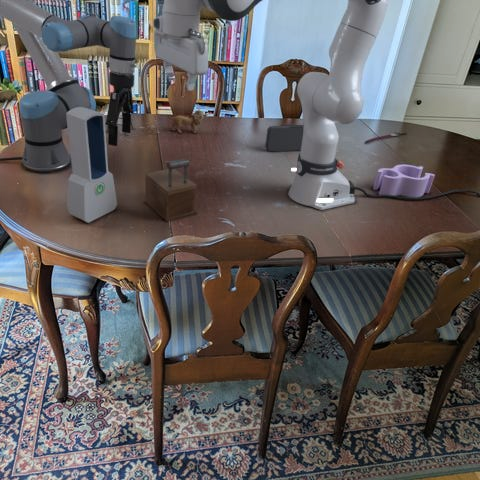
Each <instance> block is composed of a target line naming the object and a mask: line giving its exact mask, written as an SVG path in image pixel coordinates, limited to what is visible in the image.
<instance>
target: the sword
mask: <svg viewBox="0 0 480 480" xmlns="http://www.w3.org/2000/svg"><path fill="white" fill-rule="evenodd" d="M404 134H406V133H402V134H400V132H393V133H390V134H387V135H381V136H378V137H374V138H370V139H368V140H366V141H365V144H368V143H370V142H374V141H378V140H381V139H386V138H390V137H394V136H395V137H398V136H399V135H404Z"/></svg>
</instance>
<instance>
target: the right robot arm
mask: <svg viewBox="0 0 480 480" xmlns="http://www.w3.org/2000/svg"><path fill="white" fill-rule="evenodd" d="M388 1H389V0H347V7H346V10H345V11H344V14H343V15H342V17H341V20H340V23H339V24H338V27H337V29H336V31H335V34H334V37H333V39H332V41H331V44H330V46H329V49H328V56H329V60H330V67H329V68H330V69H329V74H327V73H326V72H320V71H311V72H310V71H309V72H307V73H305V74H304V75H303V76H301V78H300V79H299V81H298V84H297V89H296V93H297V96H298V98H299V101H300V104H301V105H300V106H301V111H302V113H301V114H302V123H303V124H302V125H303V139H302V145H301V150H300V151H299V153H298V156H297V161H296V166H295V167H291V170H290V171H291V172H295V174H294V175H295V176H294V178H293V181H292V184H291V186H290V188H289V190H288V193H287V194H288V196H289V198H290V199H291V200H292V201H294V202H296V203H298V204H300V205H303V206H307V207H312V208H315V209H317V210H319V211H324V210H328V209H332V208H338V207H341V206H345V205H346V206H347V205H351V204H354V203H355V202H356V198H355V196H354V195H355V191H356V190H357V191H360V192H362V193H363V195H365V196H366V197H369V198H376V199H377V198H388V199H389V198H390V199H398V200H403V201H404V200H405V201H420V200H421V201H422V200H423V201H424V200H429V199H434V198H438V197H441V196H446V195H450V194H454V193H455V194H456V193H471V194H475V193H476V194H475V195H477V196H478V197H479V198H480V192H478V191H476V190H473V189H452V190H448V191H445V192H440V193H437V194H434V195H428V196H421V197H406V196H401V195H396V196H393V195H380V194H370V193H368V192H367V191H366V190H365V189H364V188H361V187H359V186H355V185H354V184H353V182H352V181H351V180H348V178H346V176H345V175H344V174H343V173H342V172H341V171H339V170H338V169H340V170H342V169H344V167H345V163H343V162H342V161H341V160H338V159H337V158H336V155H337V154H336V153H337V149H338V144H339V140H340V139H339V138H340V137H339V132H338V129H337V127H336V124H340V125H350V124H353V123H354V122H355V121H357V119H359V117H360V116H361V114H362V112H363V110H364V98H363V95H362V79H363V73H364V68H365V65H366V62H367V60H368V57H369V56H370V54H371V51H372V48H373V46H374V44H375V42H376V40H377V37H378V35H379V33H380V30H381V28H382V25H383V22H384V19H385V16H386V13H387V9H388V5H389V2H388ZM261 2H263V0H163V5H162V7H161V8H162V9H161V13H162V14H161V15H159V16H157V17H154V18H153V19H152V27H153V28H154V31H153V49H154V54H155V57H156V58H157V59H159V60H161V61H163V67H164V71H165V76H166V77H165V78H166V80H167V81H171V82H172V81H175V80H176V73H175V72H174V68H173V66H174V67H176V68H179V69H180V70H182V71H184V72H187V73H186V74H187V81H185V82H184V88H185V90H187V91H190V92H191V91H194V90H195V84H196V81H197V79H198V76H205V75H207V74H208V71H209V49H208V45H207V43H206V39H205V37H204V34H203V33H202V32H200V23H201V22H200V21H201V10H203V9H206V10H208V11H210V12H212V13H213V14H216V15H217V16H219V17H220V18H221V19H223V20H225V21H228V22H236V21H239V20H242V19H244V18H245V17H246V16H247V15H248V14H249V13H251V12H252V10H253V9H254V8H255V7H256V6H257V5H258V4H260V3H261ZM465 191H466V192H465Z"/></svg>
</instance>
